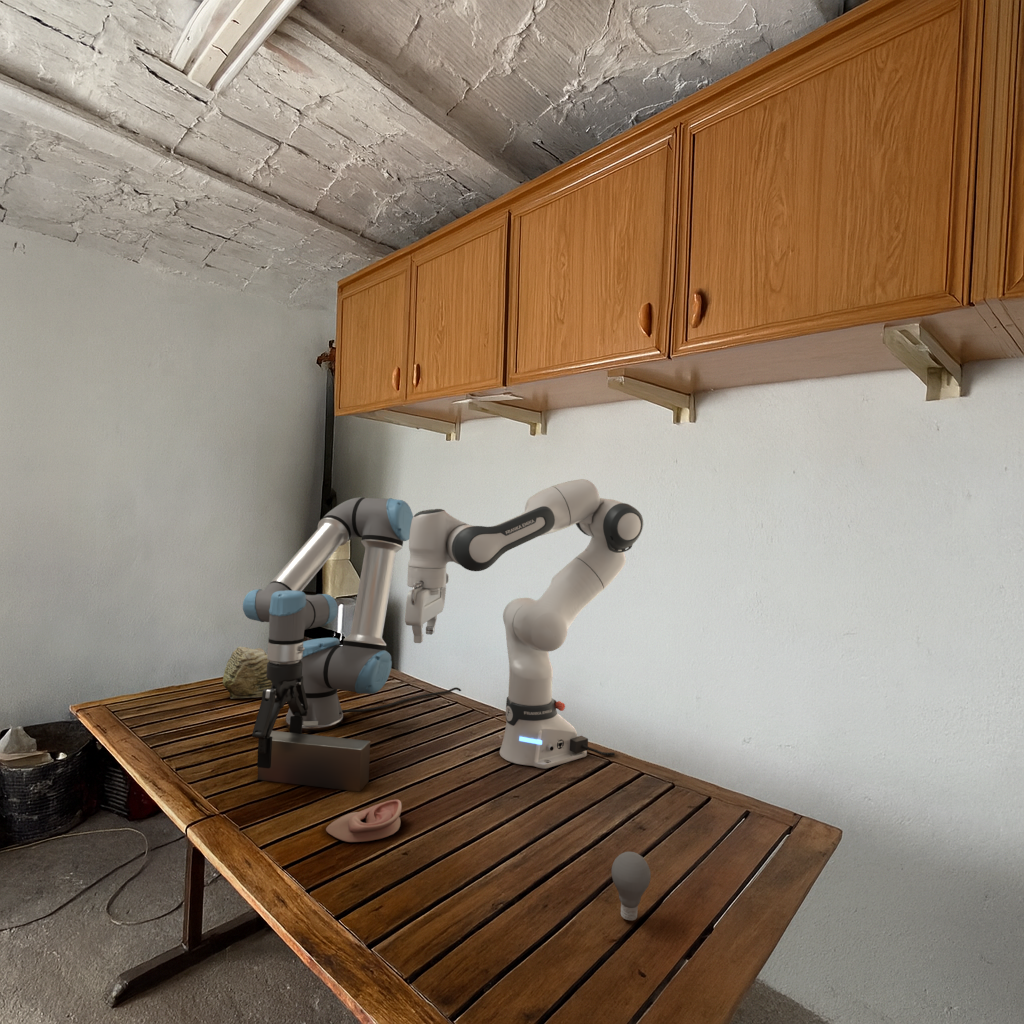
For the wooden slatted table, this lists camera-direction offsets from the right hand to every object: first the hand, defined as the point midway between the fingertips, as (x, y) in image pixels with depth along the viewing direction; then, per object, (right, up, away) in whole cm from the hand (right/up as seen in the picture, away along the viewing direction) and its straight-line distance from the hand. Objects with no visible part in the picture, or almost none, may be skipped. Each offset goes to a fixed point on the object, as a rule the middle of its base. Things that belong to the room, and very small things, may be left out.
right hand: (424, 638), depth 147 cm
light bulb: (+39, -34, -49) cm, 71 cm away
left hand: (-31, -25, -5) cm, 41 cm away
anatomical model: (-8, -32, -25) cm, 41 cm away
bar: (-24, -31, -6) cm, 39 cm away
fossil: (-60, -28, +51) cm, 84 cm away
